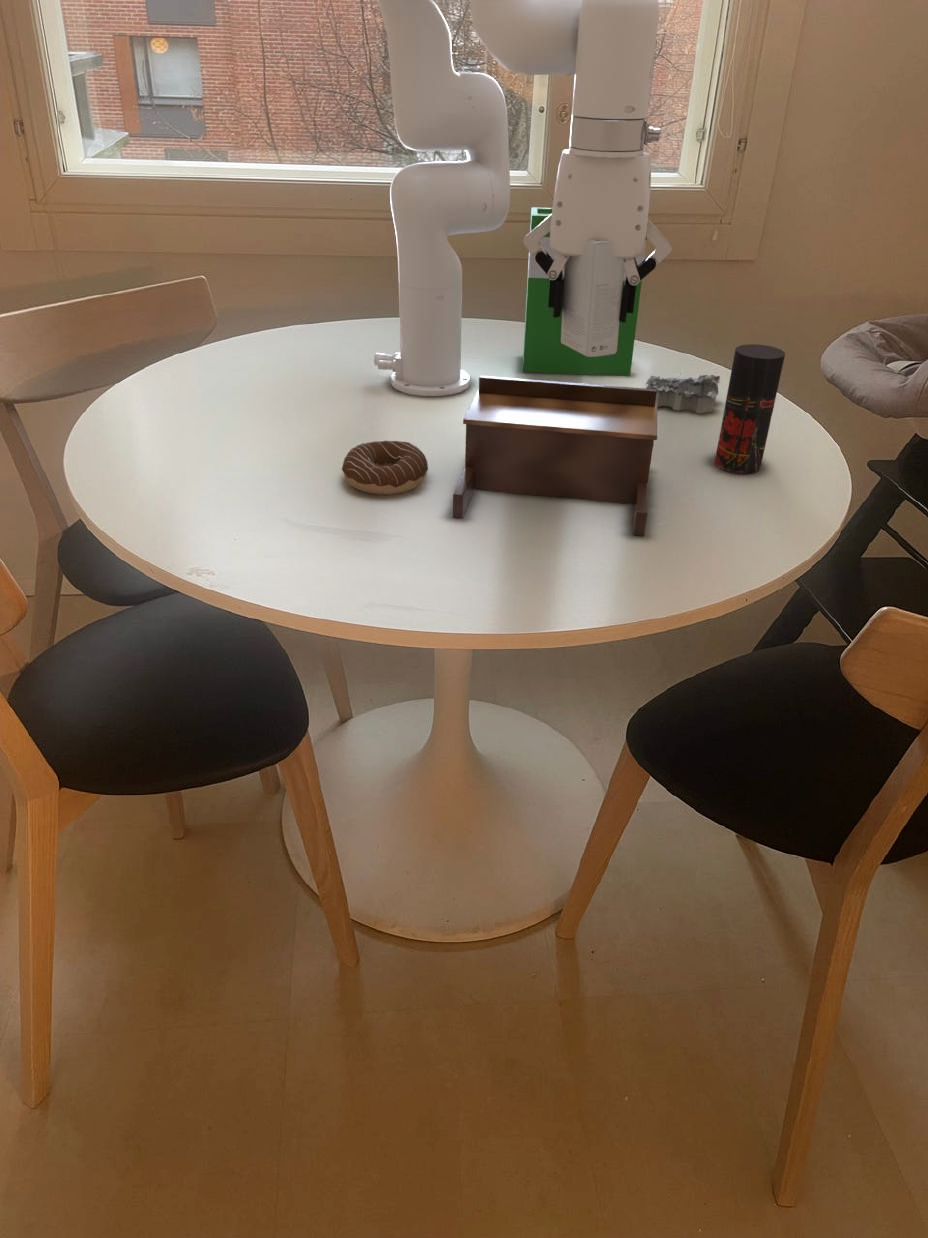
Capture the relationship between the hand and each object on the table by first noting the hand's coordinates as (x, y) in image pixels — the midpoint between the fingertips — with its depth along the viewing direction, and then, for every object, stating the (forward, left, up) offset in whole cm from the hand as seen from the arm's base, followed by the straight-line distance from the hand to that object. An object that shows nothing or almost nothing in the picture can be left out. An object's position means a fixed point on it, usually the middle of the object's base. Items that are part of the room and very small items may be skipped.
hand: (590, 315), depth 101 cm
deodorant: (+21, +11, -21) cm, 32 cm away
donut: (-23, -4, -21) cm, 32 cm away
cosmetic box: (0, 0, -4) cm, 4 cm away
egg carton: (+14, +33, -21) cm, 42 cm away
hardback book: (-3, +47, -21) cm, 52 cm away
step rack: (-2, -3, -21) cm, 21 cm away
